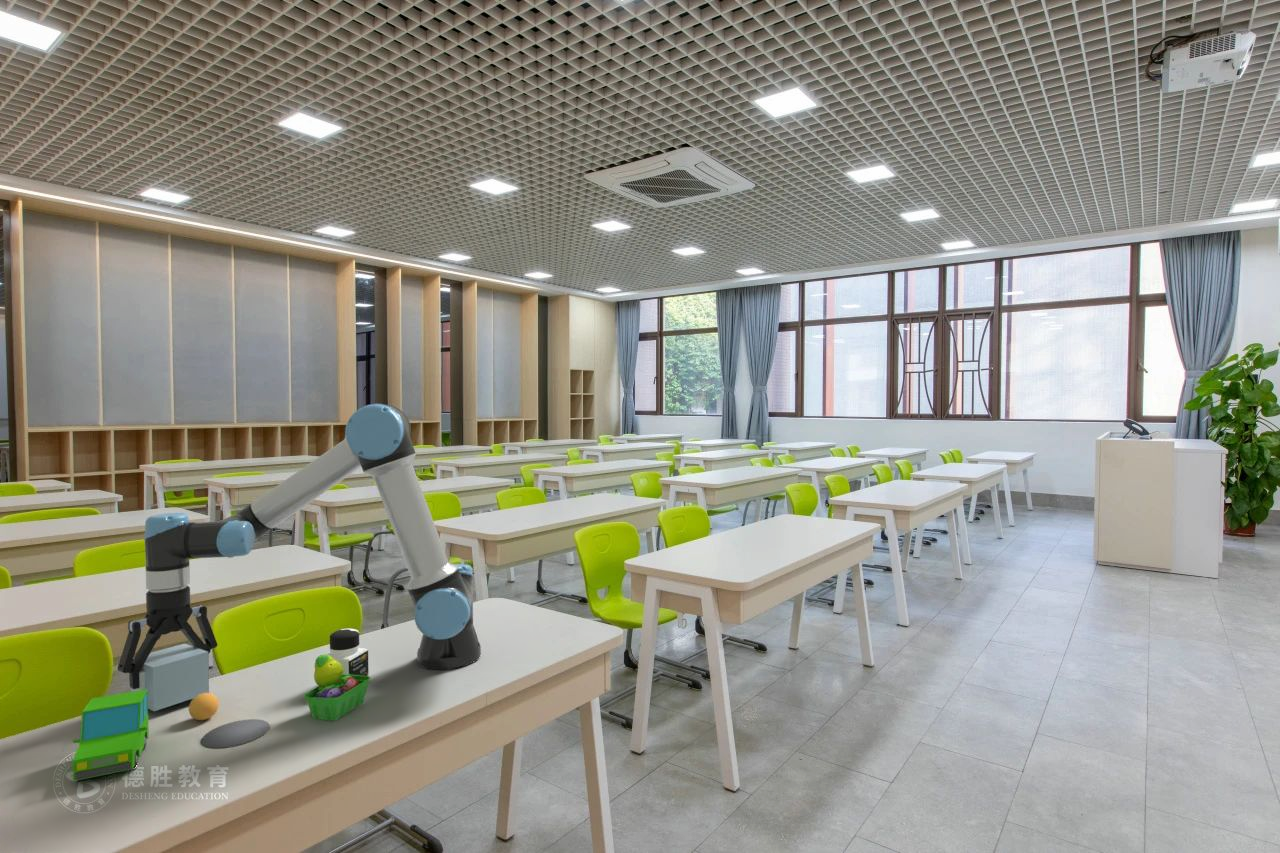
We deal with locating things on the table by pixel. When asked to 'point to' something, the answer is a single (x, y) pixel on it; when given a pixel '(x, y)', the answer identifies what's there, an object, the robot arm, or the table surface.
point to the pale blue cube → (175, 675)
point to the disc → (235, 733)
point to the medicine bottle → (349, 652)
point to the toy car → (111, 734)
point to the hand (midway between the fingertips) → (170, 693)
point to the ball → (203, 706)
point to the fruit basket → (334, 690)
